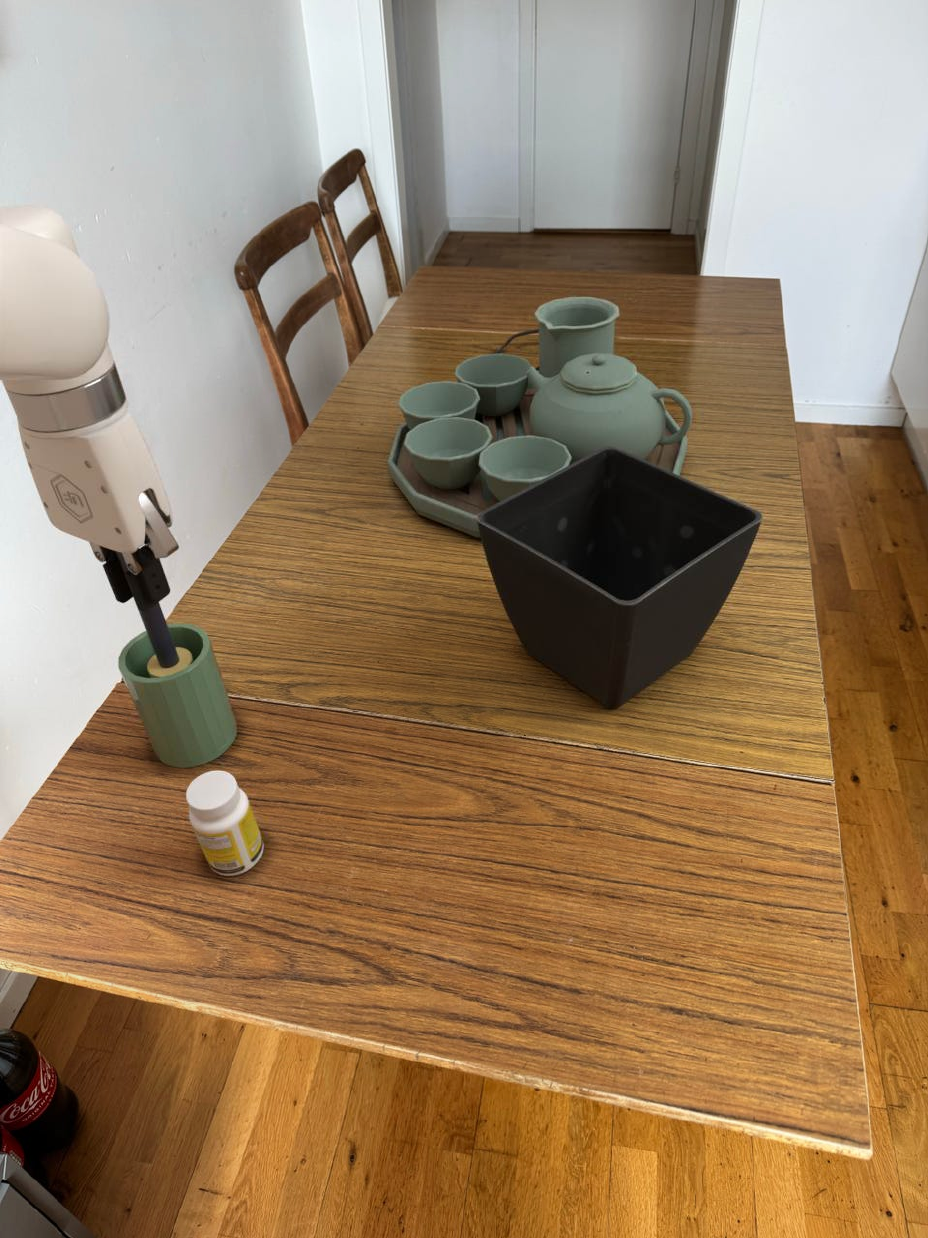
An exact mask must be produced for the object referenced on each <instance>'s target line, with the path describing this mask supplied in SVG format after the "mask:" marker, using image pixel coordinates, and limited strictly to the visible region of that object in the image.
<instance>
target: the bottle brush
mask: <svg viewBox="0 0 928 1238" xmlns="http://www.w3.org/2000/svg"><path fill="white" fill-rule="evenodd" d="M139 549H140V547H139V548H138V549H137V551H136V552H138V550H139ZM116 554H117V556H118V559H119V561H120V564H121V567H122V569H123V572H124V573H126V572H127V571H128V570H129V569H128V568H127V565H126V563H125V560H124V557H123V555H122V553H121V552H117V551H116ZM125 577H126V576H125ZM126 580H127V579H126ZM128 585H129V584H128ZM130 590H131V589H130ZM131 593H132V592H131ZM132 595H133V594H132ZM132 598H133V599H134V597H132ZM134 602H135V601H134ZM135 604H136V602H135ZM136 608H137V611H138V613H139V616H140V618H141V621H142V623H143V626H144V629H145V631H147V634H148V637H149V639H150V642H151V644H152V647H153V649H154V652H155V655H154V656H153V657H152V658H151V659H150V660H149V662H148V664H147V670H148V672H149V675H150V677H151V678H160V677H164V676H169V675H172V674H174V673H177V672H179V671H181V670H183V669H185V668H186V667H188V666H189V665H190V664H192V663H193V662H194V660H193V657H192V655H191V653H190V652H189V651H188V650H187V649H185V648H181V647H175V645H174V642H173V639H172V637H171V634H170V631H169V628H168V626H167V624H168V622H167V621H166V618H165V614H164V613H163V610H162V606H161V604H160V602H158V603H157V604H156V605H154V606H153V607H152V608H150V609H149V610H148V611H146V612H143V611H141V610H139V609H138V607H137V606H136Z"/></svg>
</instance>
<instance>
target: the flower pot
mask: <svg viewBox="0 0 928 1238" xmlns="http://www.w3.org/2000/svg"><path fill="white" fill-rule="evenodd" d="M476 519H477V523H478V528H479V532H480V537H479V538H480V540H481V545H482V548H483V551H484V555H485V558H486V562H487V566H488V569H489V571H490V575H491V579H492V580H493V583H494V586H495V589H496V591H497V594H498V597H499V599H500V601H501V604H502V607H503V609H504V611H505V613H506V615H507V618H508V619H509V622H510V624H511V626H512V627H513V629H514V632H515V634H516V637H517V638H518V639H519V641H520V644H521V646H522V647H523V649H524V651H525V652H526V653H527V654H529V655H530V656H532V657H533V658H534V659H536V660H537V661H539V662H540V663H542V664H543V665H544V666H545V667H547V668H549V669H550V670H552V671H553V672H554V673H556V674H557V675H559V676H560V677H562V678H564V679H565V680H566V681H568V682H569V683H571V684H572V685H574V686H575V687H577V688H578V689H580V690H581V691H582V692H584V693H585V694H587V695H588V696H589V697H591V698H592V699H594V700H596V701H597V702H598V703H600V704H601V705H603V706H605V707H606V708H609V709H617V708H620V707H622V706H623V705H624V704H625V703H627V702H628V701H630V700H631V699H632V698H634V697H635V696H637V695H638V694H640V693H641V692H642V691H644V690H645V689H646V688H648V687H649V686H651V685H652V684H653V683H654V682H656V681H657V680H658V679H660V678H661V677H662V676H664V675H665V674H666V673H668V672H669V671H670V670H672V669H673V668H674V667H676V666H677V665H679V664H680V663H682V662H683V661H684V660H685V659H686V658H688V657H689V656H690V655H692V654H693V653H694V651H695V650H696V648H697V647H698V646H699V644H700V643H701V641H702V640H703V638H704V637H705V636H706V634H707V632H708V631H709V629H710V628H711V627H712V625H713V623H714V621H715V620H716V618H717V616H718V614H720V612H721V610H722V609H723V607H724V605H725V603H726V601H727V599H728V598H729V595H730V594H731V592H732V590H733V588H734V587H735V585H736V582H737V580H738V578H739V576H740V574H741V572H742V570H743V568H744V565H745V563H746V561H747V559H748V556H749V554H750V552H751V549H752V547H753V545H754V543H755V540H756V538H757V535H758V532H759V530H760V526H761V523H762V521H763V514H762V513H761V512H760V511H758V510H757V509H755V508H752V507H750V506H748V505H746V504H744V503H741V502H739V501H737V500H735V499H733V498H730V497H728V496H727V495H723V494H722V493H719V492H716V491H715V490H713V489H711V488H708V487H706V486H703V485H701V484H699V483H698V482H694V481H692V480H690V479H688V478H686V477H683V476H682V475H680V476H679V475H677V474H675V473H672V472H670V471H668V470H666V469H663V468H661V467H659V466H657V465H655V464H652V463H650V462H648V461H646V460H643V459H641V458H639V457H637V456H634V455H632V454H630V453H628V452H626V451H623V450H621V449H619V448H616V447H611V446H609V447H604V448H601V449H599V450H597V451H595V452H593V453H591V454H589V455H588V456H586V457H584V458H582V459H580V460H578V461H576V462H575V463H573V464H571V465H569V466H567V467H565V468H563V469H561V470H560V471H558V472H556V473H554V474H552V475H550V476H548V477H546V478H545V479H543V480H541V481H539V482H537V483H535V484H533V485H531V486H529V487H527V488H525V489H524V490H522V491H520V492H518V493H516V494H514V495H512V496H510V497H508V498H507V499H505V500H503V501H501V502H499V503H497V504H495V505H493V506H491V507H490V508H488V509H486V510H484V511H482V512H481V513H479V514H478V515H477V518H476Z"/></svg>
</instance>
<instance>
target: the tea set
mask: <svg viewBox="0 0 928 1238" xmlns="http://www.w3.org/2000/svg"><path fill="white" fill-rule="evenodd" d="M619 308H620V307H619V306H618V305H616V304H614V303H613V302H611V301H610V300H607V299H603V298H597V297H592V296H569V297H564V298H563V297H562V298H558V299H552V300H550V301H548V302H546V303H543V304H541V305H539V307H538V308H537V310H535V312H534V313H533V315H534V316H535V318H536V320H537V321H538V329H539V333H538V357H539V358H538V367H539V370H538V371H537V370H536V369H535V368H536V367H534V365H531V363H530V361H529V360H528V359H525V358H524V357H521V356H519V355H517V354H507V353H498V354H495V353H488V354H487V353H486V354H480V355H477V356H475V357H474V356H473V357H471V358H467V359H465V360H464V361H462V362H461V363H460V364H458V365H457V366H456V367H455V371H454V377H455V379H456V380H457V382H456V381H450V380H445V381H433V382H427V383H423V384H420V385H416V386H413V387H410V388H409V389H408V390H407V391H405V392H404V393H402V394H401V395H400V398H399V399H398V403H397V406H398V408H399V409H400V411H401V412H402V415H403V417H404V422H403V423H402V424H400V425H399V426H398V427H397V429H396V433H395V436H394V438H393V439H394V440H393V443H392V447H391V449H390V453H389V457H388V460H387V468H388V474H389V476H390V477H391V479H392V481H393V482H394V483H395V485H396V486H397V487H398V489H399V490H400V492H401V493H402V494H403V496H405V497H404V498H405V499H406V500H407V501H408V503H410V505H411V506H412V507H413V509H414V510H415V511H416V513H417V514H418V515H419V516H422V517H424V518H427V519H430V520H432V521H434V522H437V523H440V524H442V525H444V526H446V527H450V528H452V529H455V530H457V531H460V532H462V533H465V534H467V535H469V536H471V537H474V538H481V537H480V532H479V528H478V523H477V519H476V518H477V515H478V514H479V513H481V512H482V511H484V510H486V509H488V508H490V507H491V506H493V505H495V504H497V503H499V502H501V501H503V500H505V499H507V498H508V497H510V496H512V495H514V494H516V493H518V492H520V491H522V490H524V489H525V488H527V487H529V486H531V485H533V484H535V483H537V482H539V481H541V480H543V479H545V478H546V477H548V476H550V475H552V474H554V473H556V472H558V471H560V470H561V469H563V468H565V467H567V466H569V465H571V464H573V463H575V462H576V461H578V460H580V459H582V458H584V457H586V456H588V455H589V454H591V453H593V452H595V451H597V450H599V449H601V448H604V447H609V446H611V447H616V448H619V449H621V450H623V451H626V452H628V453H630V454H632V455H634V456H637V457H639V458H641V459H643V460H646V461H648V462H650V463H652V464H655V465H657V466H659V467H661V468H663V469H666V470H668V471H670V472H672V473H675V474H677V475H679V476H681V473H682V468H683V466H684V462H685V459H686V454H687V451H688V443H689V437H687V434H688V432H689V430H690V428H691V426H692V421H693V411H692V407H691V404H690V402H689V401H688V400H687V398H686V397H685V395H683V394H681V393H680V392H679V391H677V390H676V389H672V388H666V387H662V388H660V389H659V387H658V386H656V384H654V383H653V382H652V381H651V380H649V379H648V378H647V377H645V376H644V375H643V374H642V373H640V372H638V371H637V366H636V365H635V364H634V363H633V362H631V361H630V360H629V359H627V358H626V357H623V356H621V355H616V354H614V351H615V350H614V349H615V348H614V347H615V327H616V319H617V318H618V317H620V309H619ZM664 398H666V399H671V400H672V401H673V402H675V403H676V404H677V405H678V406H679V407H680V409H681V410H682V411H681V412H682V414H683V423H682V425H681V427H680V426H679V425H678V423H677V422H676V421H675V420H674V418H673V417H672V416H671V415H670V413H669V412H668V411H667V409H666V406H665V401H664Z"/></svg>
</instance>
